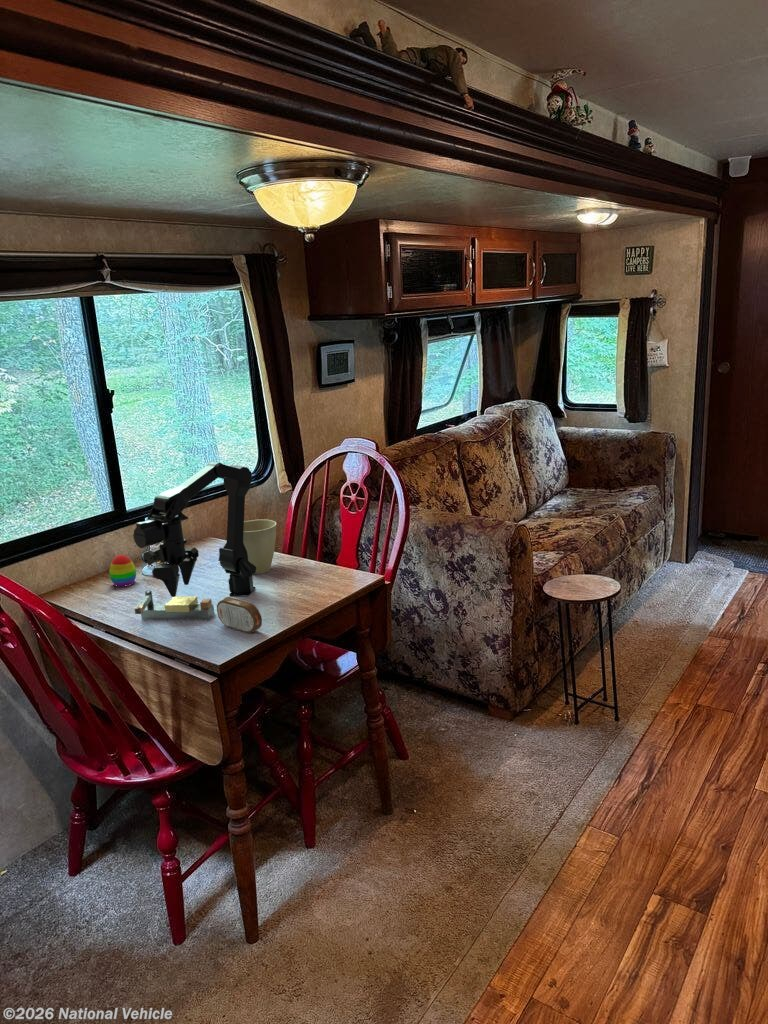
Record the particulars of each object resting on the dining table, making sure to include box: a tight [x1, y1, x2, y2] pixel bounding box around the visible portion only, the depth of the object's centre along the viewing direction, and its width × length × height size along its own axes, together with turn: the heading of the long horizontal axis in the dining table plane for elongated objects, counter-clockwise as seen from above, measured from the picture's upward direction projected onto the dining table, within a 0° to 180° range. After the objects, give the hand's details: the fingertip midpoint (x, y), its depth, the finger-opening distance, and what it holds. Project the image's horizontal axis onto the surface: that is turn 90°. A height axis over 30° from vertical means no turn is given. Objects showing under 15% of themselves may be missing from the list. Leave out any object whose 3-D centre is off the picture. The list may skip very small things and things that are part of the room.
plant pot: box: [243, 519, 278, 575], centre depth 236 cm, size 15×15×16 cm
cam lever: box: [134, 590, 154, 615], centre depth 197 cm, size 12×2×5 cm, turn 3°
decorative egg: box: [109, 554, 137, 587], centre depth 231 cm, size 8×8×10 cm
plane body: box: [140, 598, 215, 621], centre depth 202 cm, size 20×4×5 cm, turn 83°
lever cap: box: [164, 595, 199, 612], centre depth 201 cm, size 7×6×2 cm
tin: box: [216, 596, 263, 634], centre depth 191 cm, size 15×3×8 cm, turn 55°
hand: (180, 590), depth 200 cm, fingers open, 9 cm apart
